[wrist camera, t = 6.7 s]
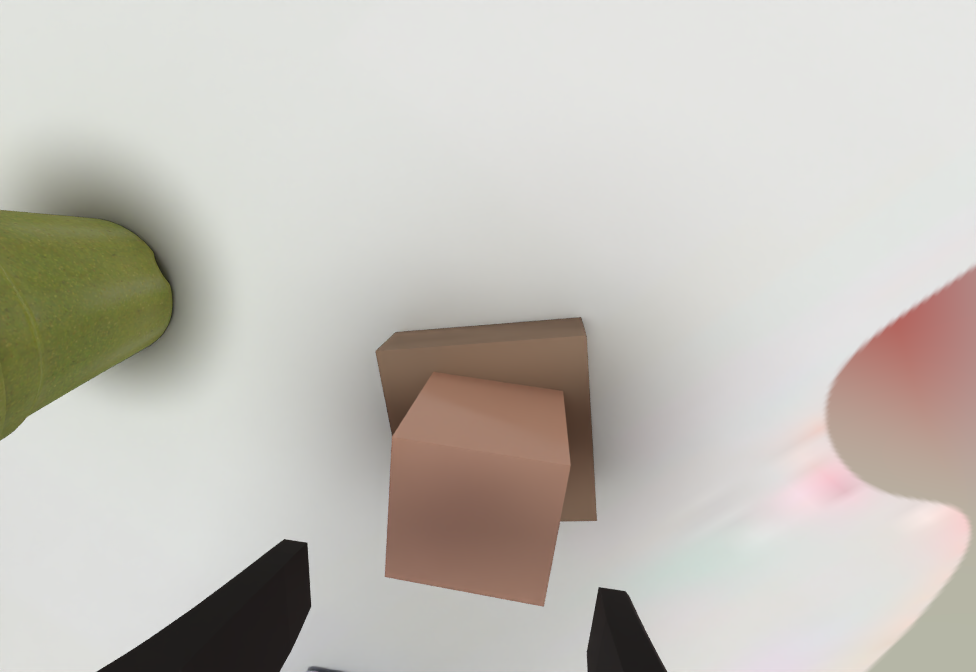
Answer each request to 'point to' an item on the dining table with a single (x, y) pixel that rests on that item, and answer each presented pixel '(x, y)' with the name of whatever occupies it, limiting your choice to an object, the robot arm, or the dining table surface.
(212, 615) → the robot arm
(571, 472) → the walnut block
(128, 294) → the plant pot
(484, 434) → the terracotta cube
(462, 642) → the dining table surface
